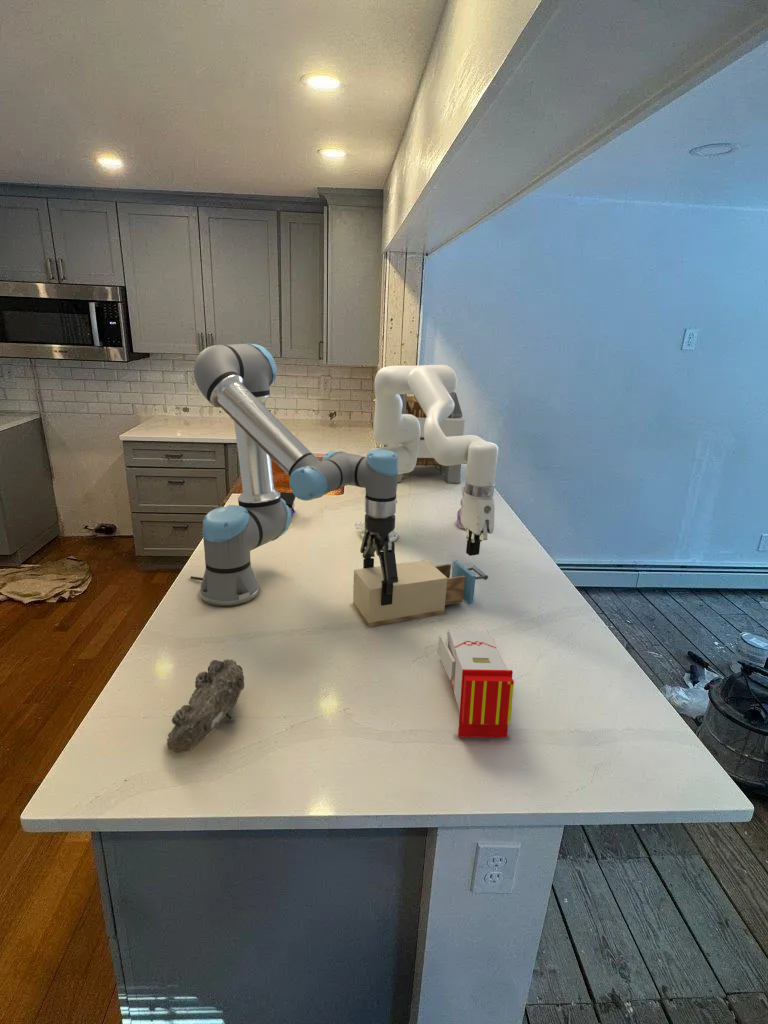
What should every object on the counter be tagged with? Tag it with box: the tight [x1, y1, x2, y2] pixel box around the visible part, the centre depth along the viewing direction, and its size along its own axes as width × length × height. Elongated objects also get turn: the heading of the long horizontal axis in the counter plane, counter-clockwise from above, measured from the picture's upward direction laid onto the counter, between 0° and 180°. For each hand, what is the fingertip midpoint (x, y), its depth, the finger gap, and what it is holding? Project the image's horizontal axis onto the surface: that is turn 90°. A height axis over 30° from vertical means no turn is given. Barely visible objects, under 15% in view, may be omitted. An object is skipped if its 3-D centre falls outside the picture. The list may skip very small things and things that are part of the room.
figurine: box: [455, 485, 465, 530], centre depth 208 cm, size 9×10×15 cm
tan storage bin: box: [352, 559, 447, 627], centre depth 148 cm, size 21×12×10 cm, turn 112°
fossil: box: [166, 658, 245, 754], centre depth 106 cm, size 22×10×15 cm
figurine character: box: [279, 492, 297, 518], centre depth 210 cm, size 7×8×15 cm
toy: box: [437, 628, 515, 738], centre depth 117 cm, size 12×13×30 cm
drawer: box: [434, 559, 489, 606], centre depth 153 cm, size 25×10×8 cm, turn 112°
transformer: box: [383, 390, 465, 484], centre depth 268 cm, size 34×33×41 cm
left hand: (376, 592), depth 146 cm, fingers open, 12 cm apart
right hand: (472, 553), depth 153 cm, fingers closed
